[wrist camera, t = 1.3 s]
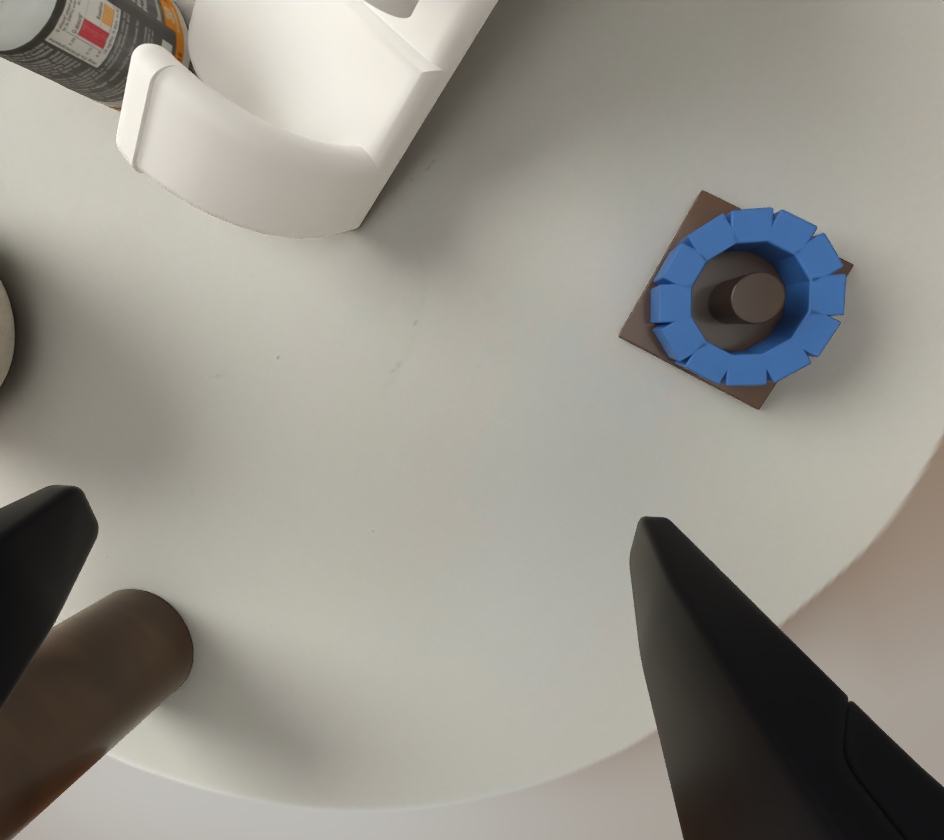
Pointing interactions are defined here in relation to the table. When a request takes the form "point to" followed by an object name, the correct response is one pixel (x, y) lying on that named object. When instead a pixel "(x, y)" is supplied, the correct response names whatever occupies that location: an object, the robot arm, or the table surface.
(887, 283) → the table surface
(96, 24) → the pill bottle
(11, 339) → the planter
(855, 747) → the robot arm
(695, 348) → the tape roll
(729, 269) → the peg stand
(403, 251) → the table surface
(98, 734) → the pedestal
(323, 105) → the tape dispenser
